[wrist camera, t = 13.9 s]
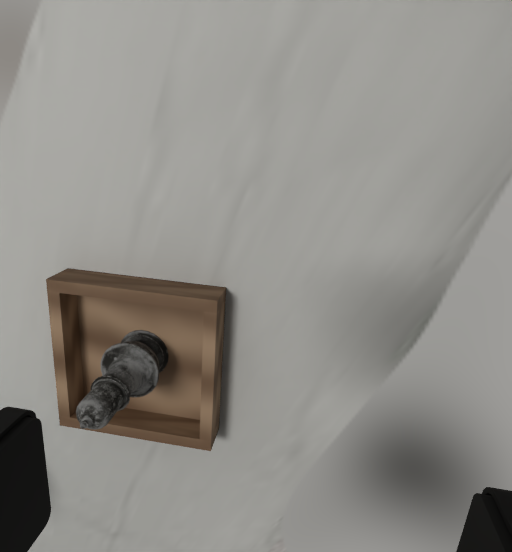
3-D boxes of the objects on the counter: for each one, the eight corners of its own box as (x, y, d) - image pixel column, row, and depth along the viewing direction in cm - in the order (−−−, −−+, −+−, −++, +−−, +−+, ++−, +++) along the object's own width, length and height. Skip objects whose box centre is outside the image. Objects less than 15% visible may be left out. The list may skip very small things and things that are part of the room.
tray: (67, 268, 42) (46, 279, 39) (226, 287, 40) (217, 300, 37) (78, 405, 48) (60, 425, 44) (218, 428, 46) (210, 450, 42)
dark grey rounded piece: (173, 379, 44) (121, 463, 33) (121, 376, 45) (52, 456, 34) (168, 328, 42) (112, 397, 31) (114, 325, 43) (39, 392, 32)
